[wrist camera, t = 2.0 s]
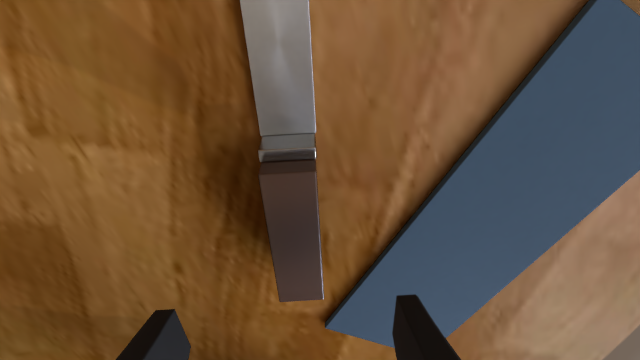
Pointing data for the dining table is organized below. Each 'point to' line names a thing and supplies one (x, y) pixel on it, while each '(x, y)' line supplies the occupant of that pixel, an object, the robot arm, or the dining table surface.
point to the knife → (286, 141)
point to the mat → (516, 181)
